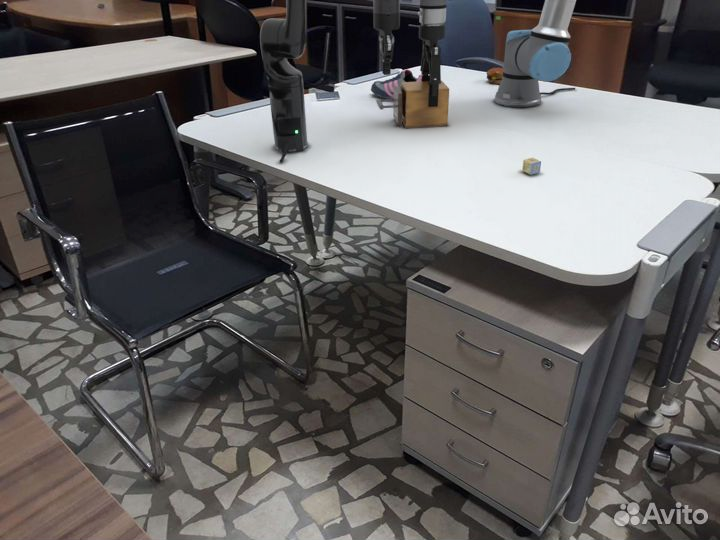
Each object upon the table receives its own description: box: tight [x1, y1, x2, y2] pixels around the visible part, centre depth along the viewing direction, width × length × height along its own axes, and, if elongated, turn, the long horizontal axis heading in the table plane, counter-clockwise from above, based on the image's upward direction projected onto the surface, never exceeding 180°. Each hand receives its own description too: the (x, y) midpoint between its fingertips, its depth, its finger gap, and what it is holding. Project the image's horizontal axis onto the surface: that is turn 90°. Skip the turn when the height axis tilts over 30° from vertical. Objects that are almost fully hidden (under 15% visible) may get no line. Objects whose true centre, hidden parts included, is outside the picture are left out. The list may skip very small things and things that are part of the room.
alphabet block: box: [522, 157, 542, 175], centre depth 139 cm, size 3×3×3 cm
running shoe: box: [370, 69, 423, 100], centre depth 198 cm, size 9×26×11 cm, turn 44°
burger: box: [486, 67, 504, 85], centre depth 219 cm, size 10×9×5 cm
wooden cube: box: [401, 80, 450, 129], centre depth 175 cm, size 13×11×11 cm
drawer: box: [375, 86, 406, 126], centre depth 174 cm, size 17×10×9 cm, turn 96°
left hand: (386, 74), depth 169 cm, fingers closed
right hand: (429, 101), depth 175 cm, fingers closed on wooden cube, 11 cm apart
